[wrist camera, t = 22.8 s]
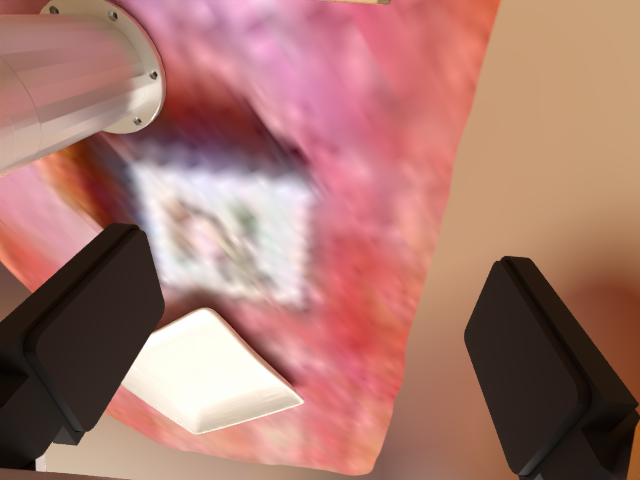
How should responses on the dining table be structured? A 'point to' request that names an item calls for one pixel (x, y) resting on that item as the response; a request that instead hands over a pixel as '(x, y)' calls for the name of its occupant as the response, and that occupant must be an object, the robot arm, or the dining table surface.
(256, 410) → the square plate
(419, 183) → the dining table surface
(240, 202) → the dining table surface
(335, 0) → the crate
